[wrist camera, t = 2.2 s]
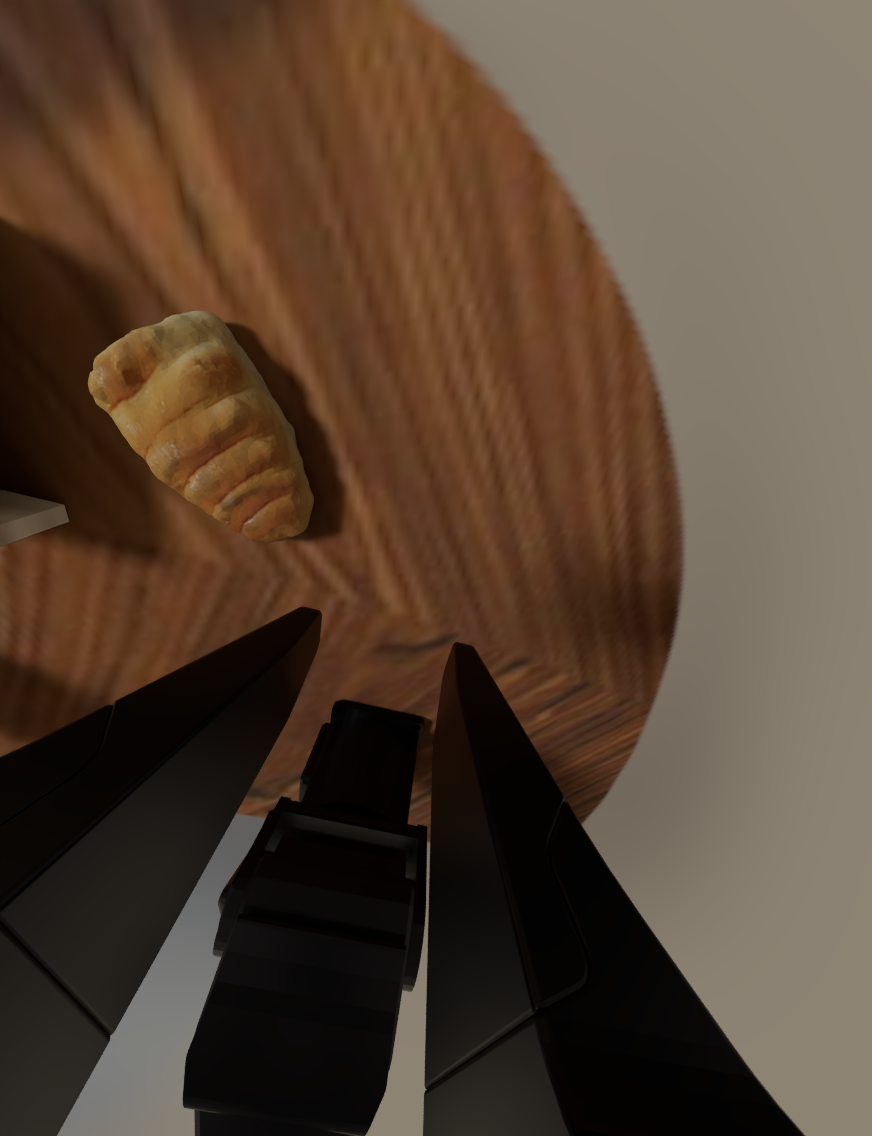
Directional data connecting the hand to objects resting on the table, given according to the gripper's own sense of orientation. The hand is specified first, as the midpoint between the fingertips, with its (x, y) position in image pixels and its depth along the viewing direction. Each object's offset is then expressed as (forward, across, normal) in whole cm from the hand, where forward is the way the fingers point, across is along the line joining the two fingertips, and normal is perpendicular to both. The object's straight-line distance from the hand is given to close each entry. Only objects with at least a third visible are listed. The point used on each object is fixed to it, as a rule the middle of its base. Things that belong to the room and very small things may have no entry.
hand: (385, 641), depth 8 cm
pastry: (+12, +10, -1) cm, 15 cm away
